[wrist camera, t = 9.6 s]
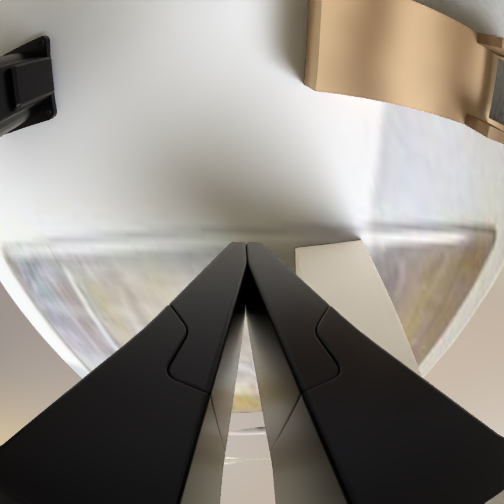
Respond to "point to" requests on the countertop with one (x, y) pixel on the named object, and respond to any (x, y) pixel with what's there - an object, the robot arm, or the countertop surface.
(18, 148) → the countertop surface
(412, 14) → the body
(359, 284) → the milk
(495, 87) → the lever cap
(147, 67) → the countertop surface
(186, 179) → the countertop surface
